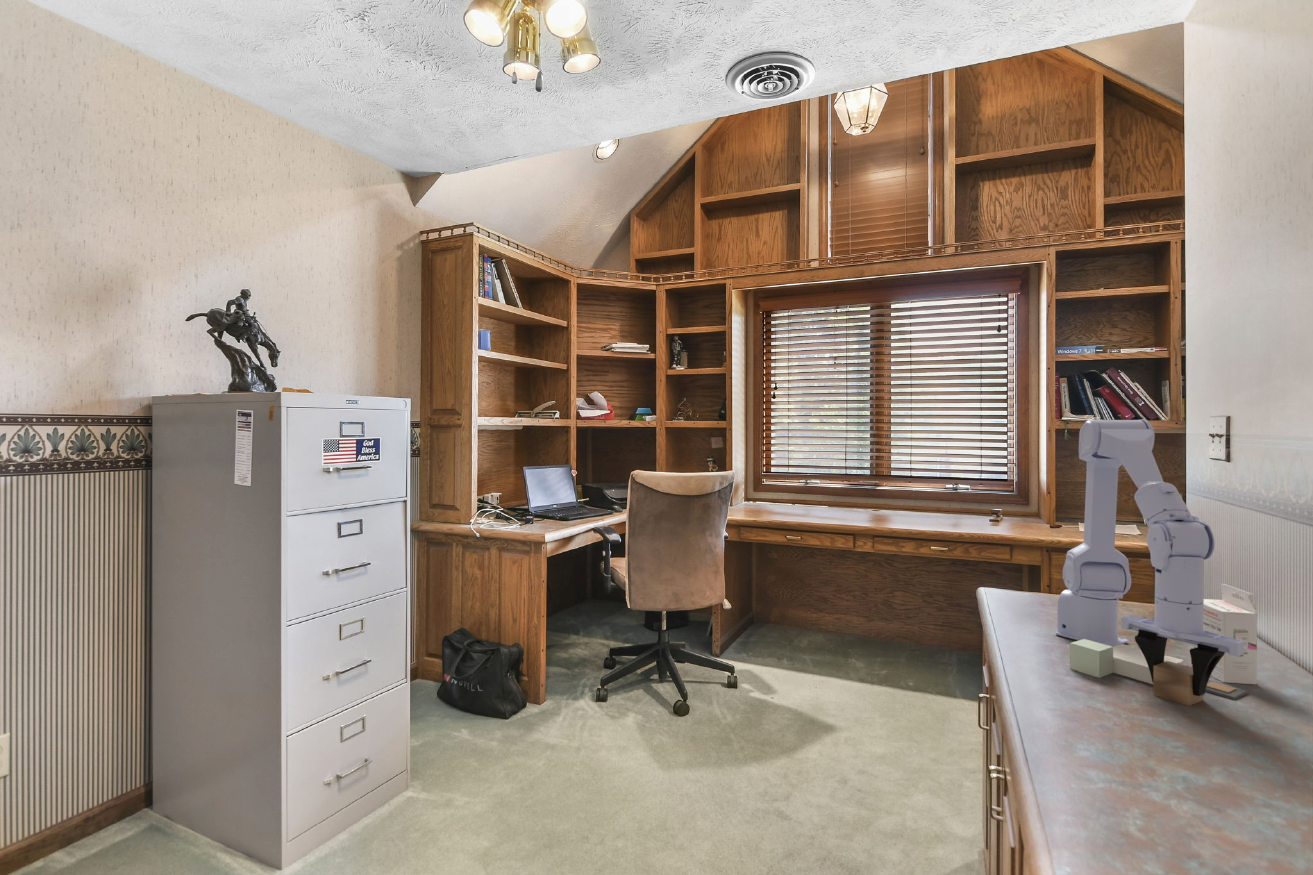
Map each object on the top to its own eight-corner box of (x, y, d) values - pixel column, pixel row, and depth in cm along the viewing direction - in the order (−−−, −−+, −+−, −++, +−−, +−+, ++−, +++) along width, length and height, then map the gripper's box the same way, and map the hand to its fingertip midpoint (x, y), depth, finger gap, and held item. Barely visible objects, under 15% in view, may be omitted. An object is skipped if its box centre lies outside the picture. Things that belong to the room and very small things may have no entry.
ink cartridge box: (1188, 663, 108) (1189, 580, 108) (1221, 666, 107) (1222, 582, 107) (1222, 683, 99) (1223, 592, 99) (1258, 685, 98) (1259, 594, 98)
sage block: (1069, 668, 105) (1070, 642, 105) (1083, 664, 107) (1084, 638, 107) (1099, 678, 101) (1099, 651, 101) (1113, 673, 103) (1113, 646, 103)
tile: (1192, 687, 97) (1192, 683, 97) (1206, 681, 100) (1206, 678, 100) (1234, 699, 93) (1234, 695, 93) (1247, 693, 95) (1247, 689, 95)
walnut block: (1153, 694, 95) (1153, 665, 95) (1167, 689, 97) (1167, 660, 97) (1189, 706, 91) (1189, 675, 91) (1202, 699, 93) (1203, 670, 93)
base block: (1095, 669, 106) (1096, 652, 106) (1122, 660, 110) (1122, 643, 110) (1158, 688, 98) (1158, 669, 98) (1184, 678, 102) (1184, 660, 102)
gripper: (1111, 591, 98) (1110, 676, 98) (1229, 615, 85) (1228, 712, 85) (1133, 586, 101) (1132, 668, 101) (1249, 608, 89) (1248, 701, 89)
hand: (1177, 687), depth 94 cm, fingers closed on walnut block, 4 cm apart
